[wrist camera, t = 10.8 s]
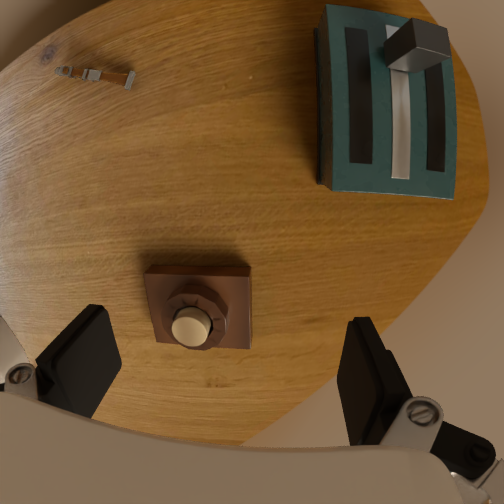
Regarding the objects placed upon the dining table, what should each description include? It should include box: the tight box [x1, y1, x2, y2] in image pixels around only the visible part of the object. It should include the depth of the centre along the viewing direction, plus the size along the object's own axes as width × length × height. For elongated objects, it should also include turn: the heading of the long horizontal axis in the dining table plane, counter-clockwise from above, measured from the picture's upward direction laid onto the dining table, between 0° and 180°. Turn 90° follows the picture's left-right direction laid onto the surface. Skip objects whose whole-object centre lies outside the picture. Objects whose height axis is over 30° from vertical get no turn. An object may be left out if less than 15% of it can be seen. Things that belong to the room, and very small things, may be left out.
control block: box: [143, 265, 252, 350], centre depth 28 cm, size 10×8×4 cm
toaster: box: [314, 4, 457, 200], centre depth 19 cm, size 10×14×6 cm
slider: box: [383, 18, 452, 73], centre depth 13 cm, size 2×2×5 cm
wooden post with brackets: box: [55, 65, 135, 91], centre depth 21 cm, size 2×8×4 cm, turn 72°
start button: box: [172, 307, 211, 346], centre depth 26 cm, size 3×3×2 cm
